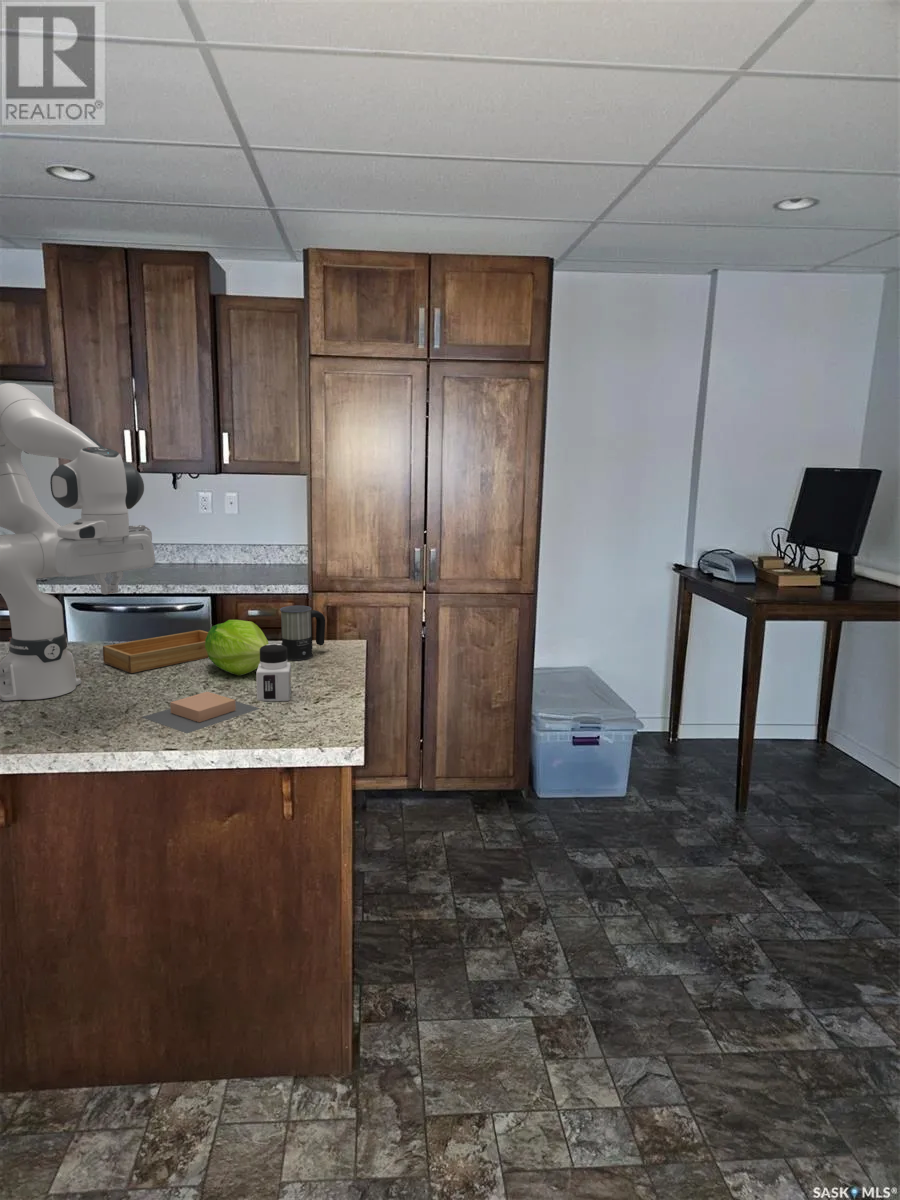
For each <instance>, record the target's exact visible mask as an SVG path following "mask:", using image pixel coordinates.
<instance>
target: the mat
mask: <svg viewBox="0 0 900 1200" xmlns="http://www.w3.org/2000/svg"><path fill="white" fill-rule="evenodd" d="M235 706H236V710H235V711H232V712H229V713H226V714H223V715H220V716H217V717H214V718H211V719H208V720H205V721H202V722H197V721H194V720H191V719H188V718H185V717H182V716H179V715H176V714H173V713H171V707H170V708H167V709H165V710H160V711H157V712H155V713H151V714H150V713H149V714H147V715H144V716H141V719H142V718H143V719H145V720H147V721H151V722H154V723H157V724H159V725H162V726H165V727H168V728H170V729H173V730H177V731H179V732H182V733H186V734H190V733H192V732H196V731H198V730H201V729H204V728H207V727H210V726H213V725H216V724H219V723H221V722H224V721H228V720H231V719H233V718H236V717H239V716H242V715H245V714H248V713H251V712H254V711H257V710H260V709H261V708H260V707H257V706H253V705H249V704H247V703H244V702H239V701H237V700H235Z"/></svg>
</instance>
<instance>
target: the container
mask: <svg viewBox="0 0 900 1200" xmlns="http://www.w3.org/2000/svg"><path fill="white" fill-rule="evenodd" d="M291 665H292V664H291V662H288V660H287V647H286V646H284V645H281V643H268V645H265V646H262V647H261V648H260V663H259V666H258V668H256V669H257V670H256V677H255V678H256V700H257V701H261V702H266V703H267V702H289V701H290V699H291V695H292V675H291V673H292V672H291V671H292V668H291Z"/></svg>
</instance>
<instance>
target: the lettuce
mask: <svg viewBox="0 0 900 1200" xmlns="http://www.w3.org/2000/svg"><path fill="white" fill-rule="evenodd" d="M207 632H208V634H207V637H206V639H205V648H206V651H207V654H208V659H209V660H210V661H211V662H212V664H213V665H214V666H216V667H217V668H219V669H220V670H223V671H224V672H227V673H230V674H233V675H234V676H235V675H236V676H243V675H246V674H250V673H252V672H253V671H255V670H256V669H258V666H259V663H260V648H261V647H262V646H265V645H268V644H269V640H268V639H267V637H266V636H265V635H266V634H265V633H264V632H263V630H262V629H261V628H260V627H259V626H258V625H257V624H256V623H254V622H253V621H250V620H249V621H248V620H241V619H228V620H226V621H225V622H222V623H217V624H215V625H212V626H211V628H210V629H209V630H208V631H207Z"/></svg>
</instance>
